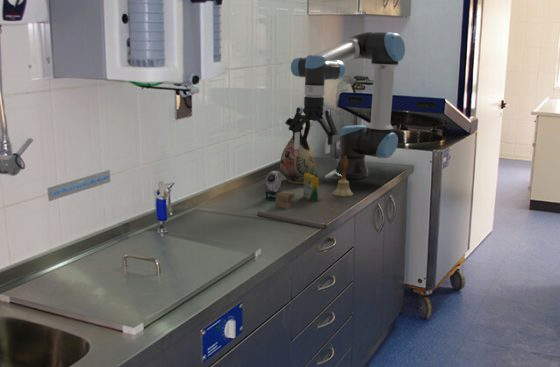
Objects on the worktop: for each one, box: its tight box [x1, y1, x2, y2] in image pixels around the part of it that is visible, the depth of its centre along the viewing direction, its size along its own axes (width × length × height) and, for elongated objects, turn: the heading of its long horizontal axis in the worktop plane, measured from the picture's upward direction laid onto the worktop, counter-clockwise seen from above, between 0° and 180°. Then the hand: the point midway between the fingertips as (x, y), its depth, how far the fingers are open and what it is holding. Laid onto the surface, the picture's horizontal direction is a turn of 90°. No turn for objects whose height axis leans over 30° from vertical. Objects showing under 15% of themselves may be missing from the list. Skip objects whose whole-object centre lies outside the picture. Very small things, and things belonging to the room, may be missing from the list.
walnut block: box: [275, 190, 295, 210], centre depth 251 cm, size 5×5×5 cm
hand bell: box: [332, 156, 354, 197], centre depth 270 cm, size 8×8×16 cm
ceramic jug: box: [279, 114, 316, 185], centre depth 286 cm, size 17×15×30 cm
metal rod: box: [256, 210, 327, 230], centre depth 232 cm, size 2×27×2 cm, turn 58°
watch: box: [264, 170, 283, 201], centre depth 260 cm, size 6×8×11 cm
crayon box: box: [303, 169, 320, 202], centre depth 261 cm, size 7×3×12 cm, turn 24°
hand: (311, 150), depth 258 cm, fingers open, 13 cm apart
